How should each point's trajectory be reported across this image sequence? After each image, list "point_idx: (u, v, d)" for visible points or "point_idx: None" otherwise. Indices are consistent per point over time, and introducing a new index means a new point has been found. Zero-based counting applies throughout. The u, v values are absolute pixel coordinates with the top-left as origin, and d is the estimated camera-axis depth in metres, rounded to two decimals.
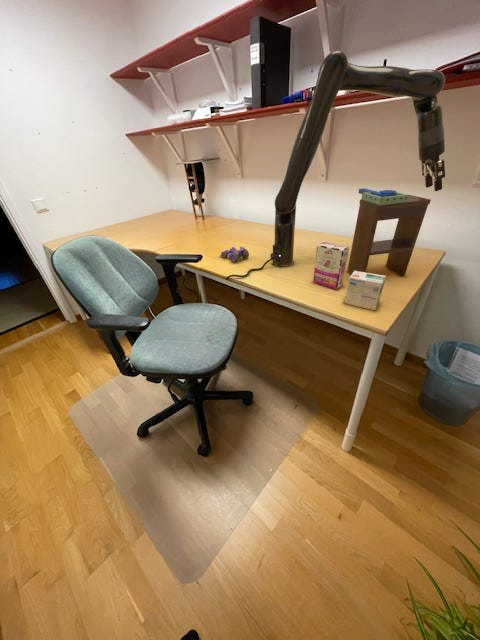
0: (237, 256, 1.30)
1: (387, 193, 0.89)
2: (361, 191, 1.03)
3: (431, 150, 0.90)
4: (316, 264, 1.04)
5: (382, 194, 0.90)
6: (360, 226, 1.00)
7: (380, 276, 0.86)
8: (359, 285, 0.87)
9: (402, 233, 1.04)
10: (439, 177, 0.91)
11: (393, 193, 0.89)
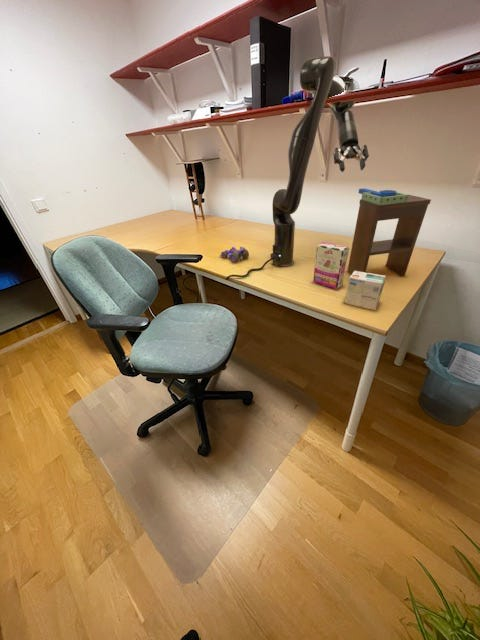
0: (237, 256, 1.30)
1: (387, 193, 0.89)
2: (361, 191, 1.03)
3: (357, 137, 1.11)
4: (316, 264, 1.04)
5: (382, 194, 0.90)
6: (360, 226, 1.00)
7: (380, 276, 0.86)
8: (359, 285, 0.87)
9: (402, 233, 1.04)
10: None
11: (393, 193, 0.89)
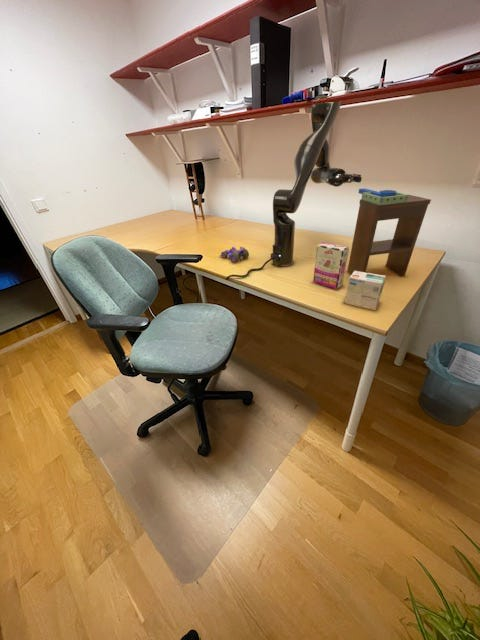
0: (237, 256, 1.30)
1: (387, 193, 0.89)
2: (361, 191, 1.03)
3: None
4: (316, 264, 1.04)
5: (382, 194, 0.90)
6: (360, 226, 1.00)
7: (380, 276, 0.86)
8: (359, 285, 0.87)
9: (402, 233, 1.04)
10: None
11: (393, 193, 0.89)
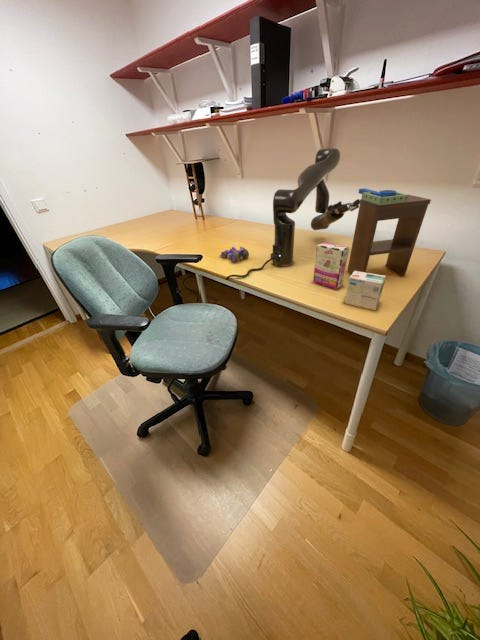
0: (237, 256, 1.30)
1: (387, 193, 0.89)
2: (361, 191, 1.03)
3: None
4: (316, 264, 1.04)
5: (382, 194, 0.90)
6: (360, 226, 1.00)
7: (380, 276, 0.86)
8: (359, 285, 0.87)
9: (402, 233, 1.04)
10: None
11: (393, 193, 0.89)
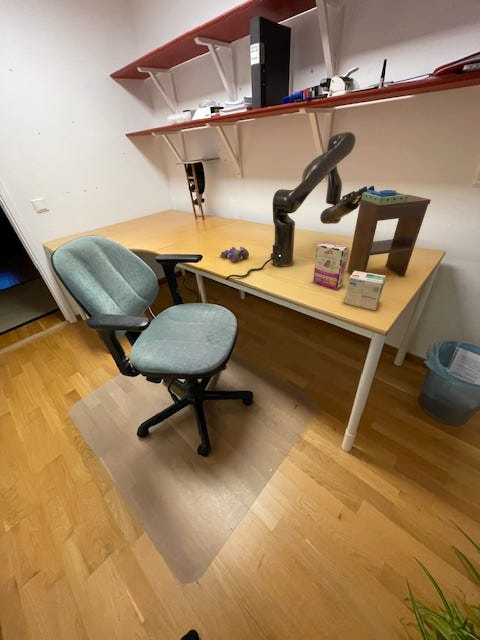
0: (237, 256, 1.30)
1: (387, 193, 0.89)
2: None
3: None
4: (316, 264, 1.04)
5: (382, 194, 0.90)
6: (360, 226, 1.00)
7: (380, 276, 0.86)
8: (359, 285, 0.87)
9: (402, 233, 1.04)
10: None
11: (393, 193, 0.89)
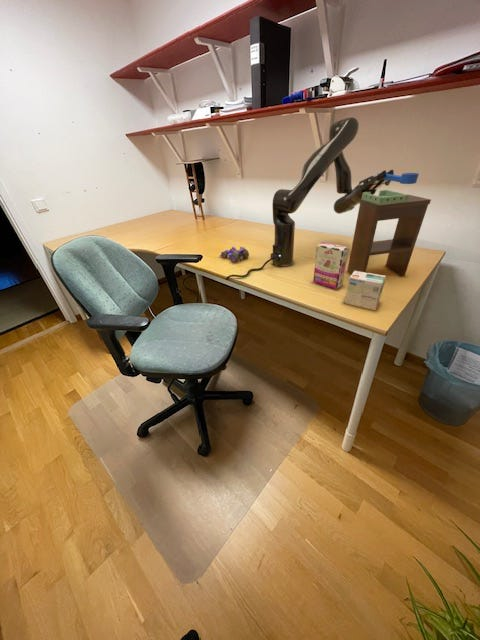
0: (237, 256, 1.30)
1: (409, 175, 0.87)
2: None
3: None
4: (316, 264, 1.04)
5: (404, 177, 0.88)
6: (360, 226, 1.00)
7: (380, 276, 0.86)
8: (359, 285, 0.87)
9: (402, 233, 1.04)
10: None
11: (415, 175, 0.86)
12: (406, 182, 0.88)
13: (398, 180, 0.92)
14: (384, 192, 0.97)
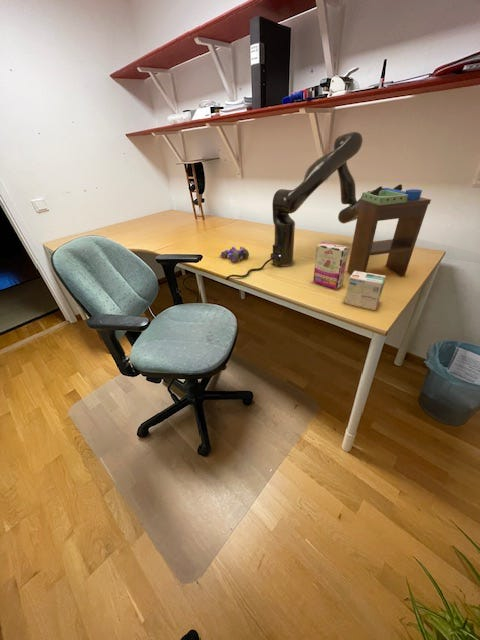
0: (237, 256, 1.30)
1: (413, 192, 0.90)
2: None
3: None
4: (316, 264, 1.04)
5: (407, 193, 0.91)
6: (360, 226, 1.00)
7: (380, 276, 0.86)
8: (359, 285, 0.87)
9: (402, 233, 1.04)
10: None
11: (419, 192, 0.90)
12: (410, 198, 0.91)
13: None
14: (384, 192, 0.97)
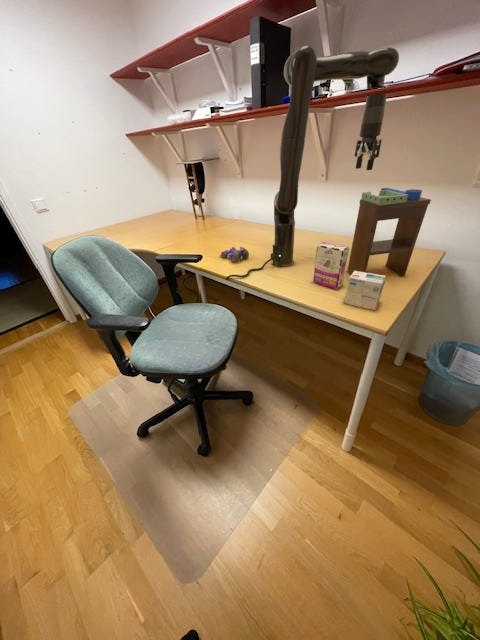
0: (237, 256, 1.30)
1: (413, 192, 0.90)
2: None
3: (373, 127, 0.99)
4: (316, 264, 1.04)
5: (407, 193, 0.91)
6: (360, 226, 1.00)
7: (380, 276, 0.86)
8: (359, 285, 0.87)
9: (402, 233, 1.04)
10: (374, 155, 1.01)
11: (419, 192, 0.90)
12: (410, 198, 0.91)
13: None
14: (384, 192, 0.97)
